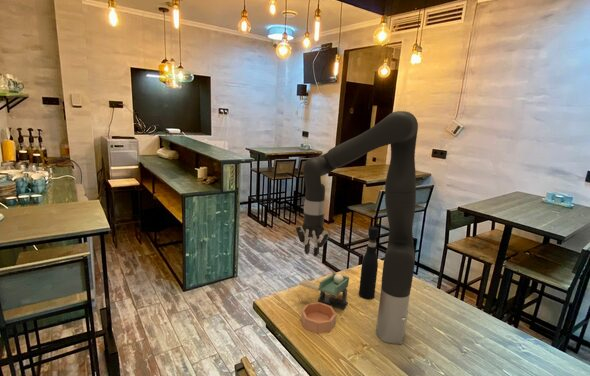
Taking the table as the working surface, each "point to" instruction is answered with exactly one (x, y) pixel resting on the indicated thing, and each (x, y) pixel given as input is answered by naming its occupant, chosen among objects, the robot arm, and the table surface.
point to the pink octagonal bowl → (318, 317)
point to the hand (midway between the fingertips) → (311, 254)
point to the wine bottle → (369, 267)
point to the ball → (338, 278)
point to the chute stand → (334, 300)
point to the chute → (327, 285)
